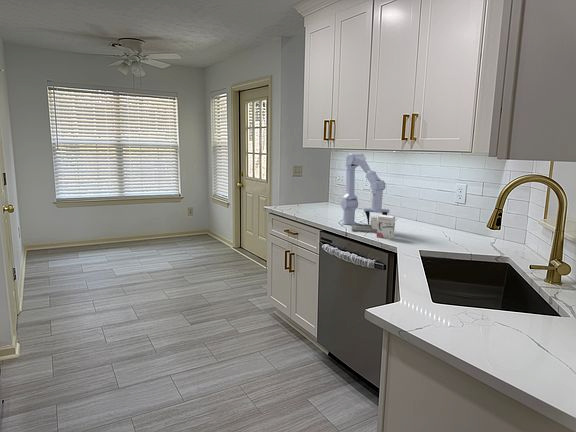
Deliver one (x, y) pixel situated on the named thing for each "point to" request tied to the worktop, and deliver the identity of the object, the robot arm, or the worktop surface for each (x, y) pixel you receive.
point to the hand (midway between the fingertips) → (375, 224)
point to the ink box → (386, 226)
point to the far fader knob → (373, 218)
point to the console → (363, 228)
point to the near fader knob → (374, 224)
